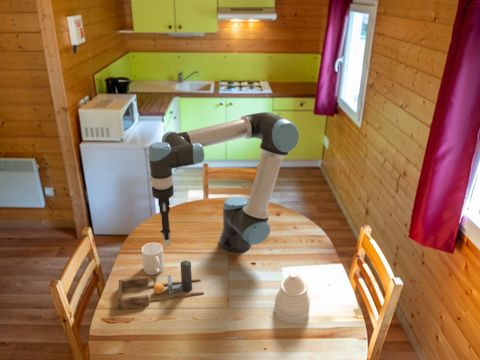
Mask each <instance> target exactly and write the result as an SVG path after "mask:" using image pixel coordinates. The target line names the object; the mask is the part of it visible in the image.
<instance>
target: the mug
mask: <svg viewBox="0 0 480 360" xmlns="http://www.w3.org/2000/svg"><path fill="white" fill-rule="evenodd" d="M163 248H164V246H163V245H162V244H161V243H159V242H149V243H146V244H144V245H143V246H141V257H142V265H143V271H144V273H145V274H147V275H151V276H152V275H153V276H154V275H158V274H160V273H162V272H163V270H164V269H165V260H164V249H163Z"/></svg>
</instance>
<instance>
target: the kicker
mask: <svg viewBox="0 0 480 360" xmlns="http://www.w3.org/2000/svg"><path fill="white" fill-rule="evenodd" d="M180 275H181V276H180V277H181V280H180V281H182V283H181V284H174V285H172V282H173V281H172V275H171V274H169V275H167V283H168V285H167V286H168V294H169V295H173V293H174V292H175V293H176V292H181V291H183V292H190V291H191V290H193V284H192V283H193V282H192V280H193V278H192V263H191V261H190V260H183V261H181V262H180Z"/></svg>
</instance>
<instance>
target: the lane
mask: <svg viewBox="0 0 480 360" xmlns="http://www.w3.org/2000/svg"><path fill="white" fill-rule="evenodd" d="M195 282H201V278H194V279H193V278H192V283H195ZM161 284H162V285H163V287H165V286H166V287H167V286H168V282H164V283H161ZM178 284H182V281H181V280H179V281H172V285H178ZM155 285H156V284H151V285H149V284H148V286H147V288H148V289H152V288H154V286H155ZM199 295H204V291H196V292H189V293H183V294H175V295H169V296H163V297H162V296H161V297H156V298H149V303H151V302H158V301H165V300H171V299H178V298H179V299H180V298H185V297H186V298H187V297H192V296H199Z"/></svg>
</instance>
